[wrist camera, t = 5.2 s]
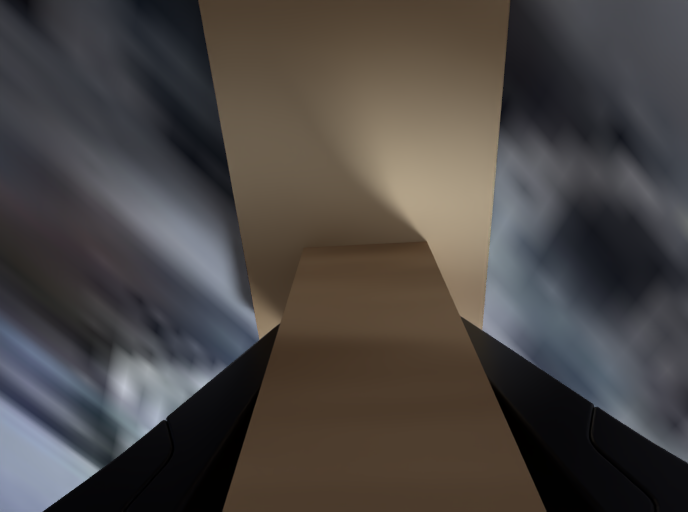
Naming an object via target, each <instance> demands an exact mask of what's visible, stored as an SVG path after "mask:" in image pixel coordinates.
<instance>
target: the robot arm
mask: <svg viewBox="0 0 688 512" xmlns="http://www.w3.org/2000/svg"><path fill="white" fill-rule="evenodd" d="M460 317H461V316H460ZM461 319H462V322H463V324H464V326H465V328H466V331H467V333H468V335H469V338H470V340H471V342H472V344H473V347H474V349H475V351H476V353H477V356H478V358H479V360H480V362H481V365H482V367H483V369H484V371H485V374H486V376H487V378H488V380H489V383H490V385H491V387H492V389H493V392H494V394H495V396H496V398H497V401H498V403H499V405H500V408H501V410H502V412H503V414H504V417H505V419H506V421H507V423H508V426H509V428H510V430H511V432H512V435H513V437H514V439H515V441H516V444H517V446H518V448H519V450H520V453H521V455H522V457H523V459H524V462H525V464H526V466H527V468H528V471H529V473H530V475H531V478H532V480H533V482H534V484H535V487H536V489H537V491H538V493H539V496H540V498H541V500H542V502H543V505H544V507H545V509H546V511H547V512H688V463H686V462H685V461H683V460H681V459H680V458H678V457H676V456H675V455H673V454H671V453H670V452H668V451H666V450H665V449H663V448H661V447H660V446H658V445H656V444H654V443H653V442H651V441H650V440H648V439H646V438H645V437H643V436H642V435H640V434H639V433H637V432H635V431H634V430H632V429H631V428H629V427H628V426H626V425H624V424H623V423H621V422H620V421H618V420H617V419H615V418H614V417H612V416H611V415H609V414H608V413H606V412H605V411H603V410H602V409H600V408H599V407H594V405H593V404H592V403H591V402H589V401H588V400H586V399H585V398H583V397H582V396H580V395H579V394H577V393H576V392H574V391H573V390H571V389H570V388H568V387H567V386H565V385H564V384H562V383H561V382H559V381H558V380H556V379H555V378H553V377H552V376H550V375H549V374H547V373H546V372H544V371H543V370H541V369H540V368H538V367H537V366H535V365H534V364H532V363H531V362H529V361H528V360H526V359H525V358H523V357H522V356H520V355H519V354H517V353H516V352H514V351H513V350H511V349H510V348H508V347H507V346H505V345H504V344H502V343H501V342H499V341H498V340H496V339H495V338H493V337H492V336H490V335H489V334H487V333H486V332H484V331H483V330H481V329H480V328H478V327H477V326H475V325H474V324H472V323H471V322H469V321H468V320H466V319H465V318H463V317H461ZM279 326H280V324H278V325H277V326H275V327H274V328H273V329H272V330H271V331H269V332H268V333H267V334H266V335H265V336H263V337H262V338H261V339H260V340H259V341H257V342H256V343H255V344H254V345H253V346H251V347H250V348H249V349H248V350H247V351H245V352H244V353H243V354H242V355H241V356H240V357H238V358H237V359H236V360H235V361H234V362H232V363H231V364H230V365H229V366H228V367H226V368H225V369H224V370H223V371H222V372H220V373H219V374H218V375H217V376H216V377H214V378H213V379H212V380H211V381H210V382H208V383H207V384H206V385H205V386H204V387H202V388H201V389H200V390H199V391H198V392H196V393H195V394H194V395H193V396H192V397H190V398H189V399H188V400H187V401H186V402H184V403H183V404H182V405H181V406H180V407H178V408H177V409H176V410H175V411H174V412H172V413H171V414H170V415H169V416H168V417H167V418H166V420H167V421H166V420H163V421H161V422H160V423H159V424H158V425H157V426H155V427H154V428H153V429H152V430H151V431H149V432H148V433H147V434H146V435H145V436H143V437H142V438H141V439H140V440H138V441H137V442H136V443H135V444H133V445H132V446H131V447H130V448H128V449H127V450H126V451H125V452H123V453H122V454H121V455H120V456H118V457H117V458H116V459H114V460H113V461H112V462H110V463H109V464H107V465H106V466H105V467H103V468H102V469H101V470H99V471H98V472H97V473H95V474H94V475H93V476H91V477H90V478H89V479H87V480H86V481H85V482H83V483H82V484H80V485H79V486H78V487H76V488H75V489H73V490H72V491H71V492H69V493H68V494H67V495H65V496H64V497H62V498H61V499H60V500H58V501H57V502H55V503H54V504H53V505H51V506H50V507H48V508H47V509H46V510H44V511H43V512H222V511H223V508H224V504H225V501H226V498H227V495H228V491H229V488H230V485H231V482H232V479H233V475H234V472H235V469H236V466H237V462H238V459H239V456H240V453H241V449H242V446H243V443H244V440H245V436H246V433H247V430H248V427H249V423H250V420H251V417H252V414H253V410H254V407H255V404H256V401H257V397H258V394H259V391H260V388H261V385H262V381H263V378H264V375H265V372H266V368H267V365H268V362H269V359H270V355H271V352H272V349H273V346H274V342H275V339H276V336H277V333H278V329H279Z"/></svg>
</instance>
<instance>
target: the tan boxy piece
mask: <svg viewBox="0 0 688 512" xmlns="http://www.w3.org/2000/svg"><path fill="white" fill-rule="evenodd" d="M198 1H199V7H200V12H201V18H202V23H203V29H204V34H205V40H206V45H207V51H208V57H209V62H210V68H211V73H212V79H213V84H214V90H215V95H216V101H217V107H218V112H219V118H220V123H221V129H222V134H223V140H224V145H225V151H226V156H227V162H228V168H229V173H230V179H231V184H232V190H233V195H234V201H235V206H236V212H237V217H238V223H239V229H240V234H241V240H242V245H243V251H244V256H245V262H246V267H247V273H248V279H249V284H250V290H251V295H252V301H253V306H254V312H255V317H256V323H257V328H258V334H259V340H260V339H261V338H262V337H263V336H265V335H266V334H267V333H268V332H269V331H271V330H272V329H273V328H274V327H275V326H277V325H278V324H280V326H279V329H278V333H277V336H276V339H275V342H274V346H273V349H272V352H271V355H270V359H269V362H268V365H267V368H266V372H265V375H264V378H263V381H262V385H261V388H260V391H259V394H258V397H257V401H256V404H255V407H254V410H253V414H252V417H251V420H250V423H249V427H248V430H247V433H246V436H245V440H244V443H243V446H242V449H241V453H240V456H239V459H238V462H237V466H236V469H235V472H234V475H233V479H232V482H231V485H230V488H229V491H228V495H227V498H226V501H225V504H224V508H223V511H222V512H547V511H546V509H545V507H544V505H543V502H542V500H541V498H540V496H539V493H538V491H537V489H536V487H535V484H534V482H533V480H532V478H531V475H530V473H529V471H528V468H527V466H526V464H525V462H524V459H523V457H522V455H521V453H520V450H519V448H518V446H517V444H516V441H515V439H514V437H513V435H512V432H511V430H510V428H509V426H508V423H507V421H506V419H505V417H504V414H503V412H502V410H501V408H500V405H499V403H498V401H497V398H496V396H495V394H494V392H493V389H492V387H491V385H490V383H489V380H488V378H487V376H486V374H485V371H484V369H483V367H482V365H481V362H480V360H479V358H478V356H477V353H476V351H475V349H474V347H473V344H472V342H471V340H470V338H469V335H468V333H467V331H466V328H465V326H464V324H463V322H462V319H461V317H463V318H465V319H466V320H468V321H469V322H471V323H472V324H474V325H475V326H477V327H478V328H480V329H481V330H482V326H483V314H484V302H485V291H486V279H487V267H488V256H489V244H490V232H491V220H492V209H493V197H494V185H495V173H496V162H497V150H498V138H499V127H500V115H501V103H502V91H503V80H504V68H505V56H506V44H507V33H508V21H509V9H510V0H198ZM460 316H461V317H460Z"/></svg>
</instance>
